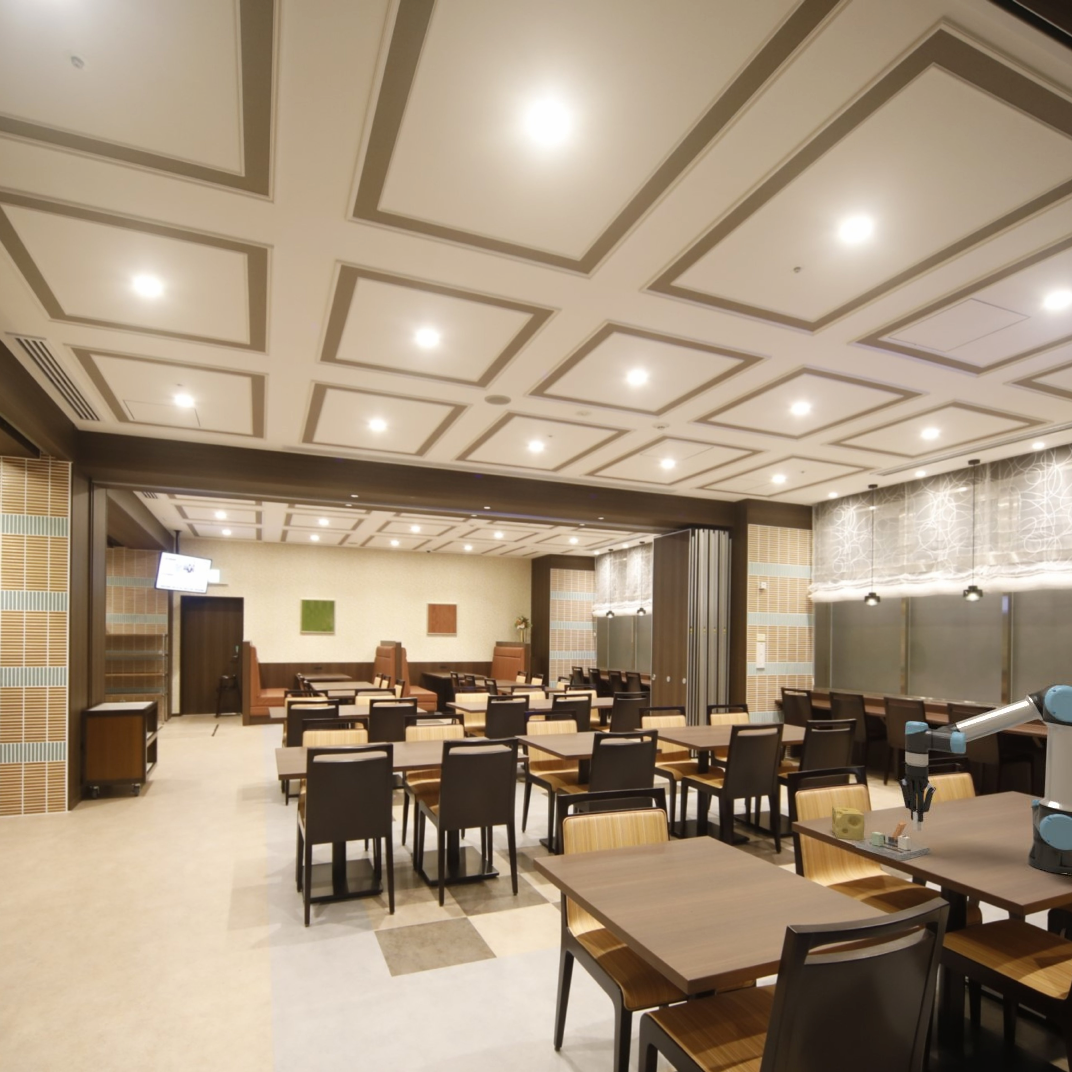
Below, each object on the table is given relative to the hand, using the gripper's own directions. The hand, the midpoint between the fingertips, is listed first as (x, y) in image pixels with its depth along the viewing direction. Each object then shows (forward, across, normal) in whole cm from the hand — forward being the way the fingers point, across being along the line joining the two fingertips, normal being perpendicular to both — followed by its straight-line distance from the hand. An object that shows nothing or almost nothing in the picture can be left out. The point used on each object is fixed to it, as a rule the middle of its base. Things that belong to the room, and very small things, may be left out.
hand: (917, 830), depth 256 cm
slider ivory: (+6, +2, +6) cm, 9 cm away
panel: (+8, +7, +5) cm, 12 cm away
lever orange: (+6, +9, 0) cm, 11 cm away
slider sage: (+6, +9, +11) cm, 15 cm away
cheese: (+9, +25, +4) cm, 27 cm away
